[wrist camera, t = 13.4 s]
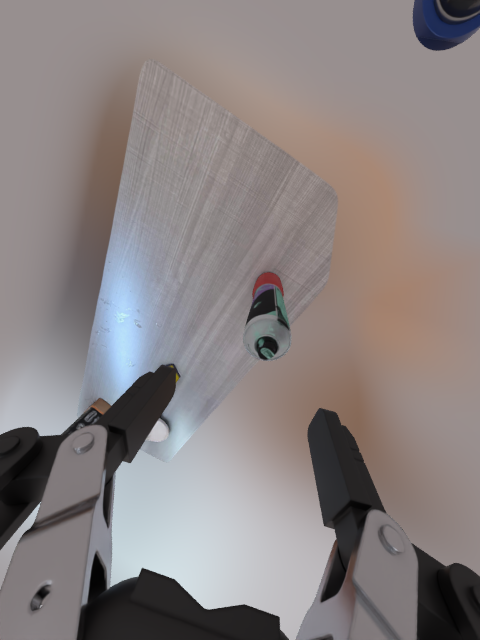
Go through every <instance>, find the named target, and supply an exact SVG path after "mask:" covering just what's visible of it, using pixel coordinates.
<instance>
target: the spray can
mask: <svg viewBox="0 0 480 640" xmlns="http://www.w3.org/2000/svg"><path fill="white" fill-rule="evenodd" d="M243 343H244V346H245V348H246V350H247V351H248V353H249V354H250V355H252V356H253V357H255V358H257V359H259V360H263V361H272V360H276V359H279V358H281V357H282V356H284V355H285V354H286V353H287V352H288V350H289V349H290V346H291V330H290V326H289V322H288V317H287V313H286V309H285V305H284V300H283V296H282V292H281V290H280V289H279V288H278V287H277V286H276V285H273V284H264V285H262V286H260V287H259V288H258V289H257V291H256V293H255V296H254V299H253V302H252V306H251V309H250V312H249V315H248V319H247V322H246V325H245V329H244V333H243Z"/></svg>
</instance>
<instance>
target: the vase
mask: <svg viewBox="0 0 480 640" xmlns="http://www.w3.org/2000/svg"><path fill="white" fill-rule="evenodd" d="M168 435H169V428H168V426H167V424H166V423H165V422H164V421H163V420H162V419H160V418H159V419H158V421H157V423H156V424H155V426H154V427H153V429H152V430H151V432H150V434H149V435H148V437H147V438H146V440H150V441H153V442H161V441H163V440H165V439H167V438H168Z"/></svg>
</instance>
